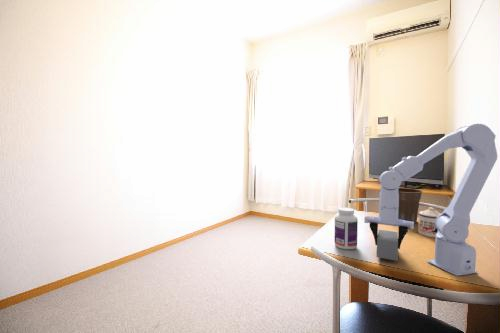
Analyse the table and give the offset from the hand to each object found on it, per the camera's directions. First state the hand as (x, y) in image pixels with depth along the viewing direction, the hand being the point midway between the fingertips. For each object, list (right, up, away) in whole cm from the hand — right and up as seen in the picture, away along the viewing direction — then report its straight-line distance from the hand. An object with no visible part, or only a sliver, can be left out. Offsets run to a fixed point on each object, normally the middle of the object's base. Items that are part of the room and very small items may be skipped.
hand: (387, 245), depth 85 cm
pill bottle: (-11, -4, +10) cm, 15 cm away
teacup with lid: (+32, -2, +21) cm, 38 cm away
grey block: (0, -2, 0) cm, 3 cm away
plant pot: (+31, -1, +43) cm, 53 cm away
